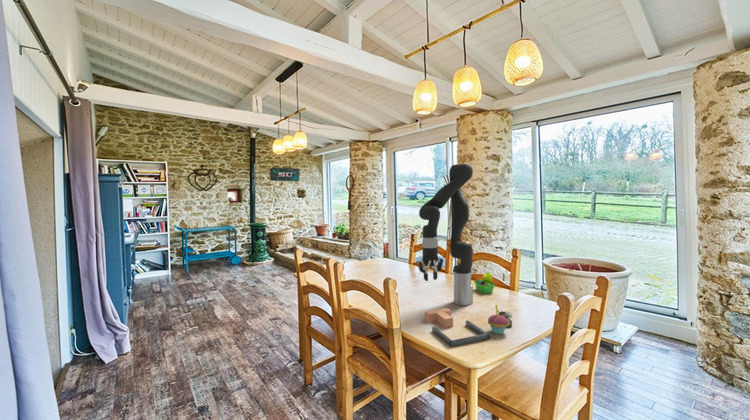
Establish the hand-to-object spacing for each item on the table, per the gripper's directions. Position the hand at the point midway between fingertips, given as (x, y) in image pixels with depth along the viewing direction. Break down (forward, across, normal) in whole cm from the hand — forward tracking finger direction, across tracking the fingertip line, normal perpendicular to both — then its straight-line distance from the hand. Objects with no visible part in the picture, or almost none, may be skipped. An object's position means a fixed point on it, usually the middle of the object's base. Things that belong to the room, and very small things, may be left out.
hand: (430, 279), depth 160 cm
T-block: (+17, 0, +11) cm, 21 cm away
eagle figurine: (+18, -25, +24) cm, 38 cm away
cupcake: (+17, -17, +29) cm, 38 cm away
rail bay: (+17, 0, +25) cm, 30 cm away
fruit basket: (+18, -47, -19) cm, 54 cm away
